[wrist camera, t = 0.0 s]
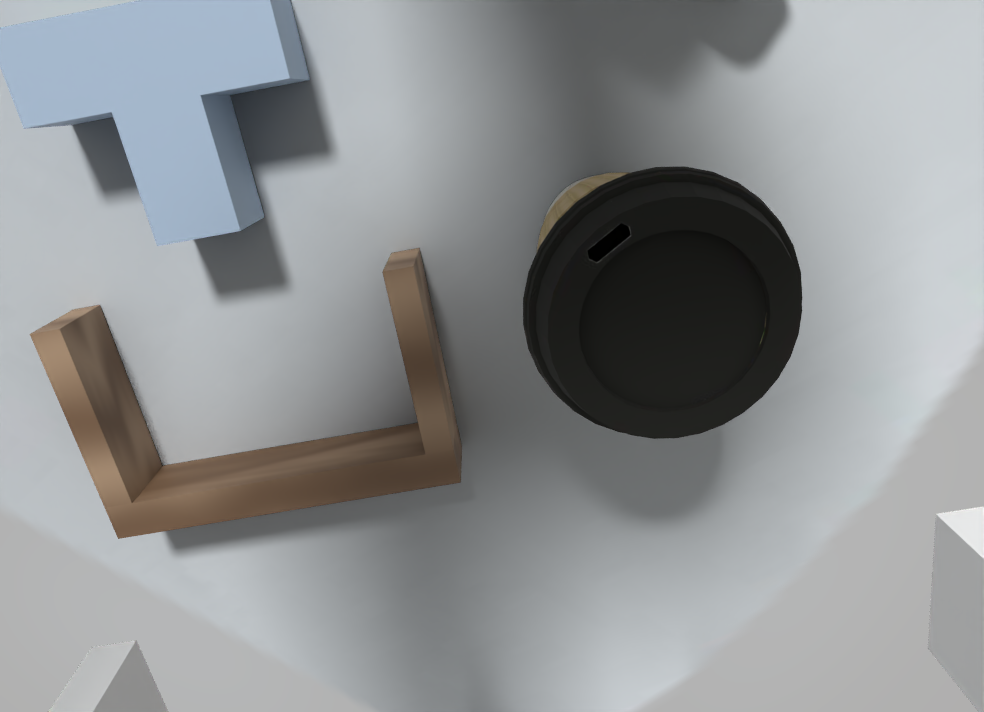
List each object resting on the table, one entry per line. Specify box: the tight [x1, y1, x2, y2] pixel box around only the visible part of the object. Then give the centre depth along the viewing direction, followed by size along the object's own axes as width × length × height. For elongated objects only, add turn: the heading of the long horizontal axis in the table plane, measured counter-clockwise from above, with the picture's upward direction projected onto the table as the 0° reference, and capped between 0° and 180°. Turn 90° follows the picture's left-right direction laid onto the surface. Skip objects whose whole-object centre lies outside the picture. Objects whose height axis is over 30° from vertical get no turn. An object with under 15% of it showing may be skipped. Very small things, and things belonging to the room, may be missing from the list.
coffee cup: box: [523, 167, 802, 439], centre depth 31 cm, size 10×10×15 cm
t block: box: [0, 0, 310, 246], centre depth 33 cm, size 10×12×4 cm
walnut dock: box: [30, 248, 462, 539], centre depth 38 cm, size 12×19×4 cm, turn 100°
